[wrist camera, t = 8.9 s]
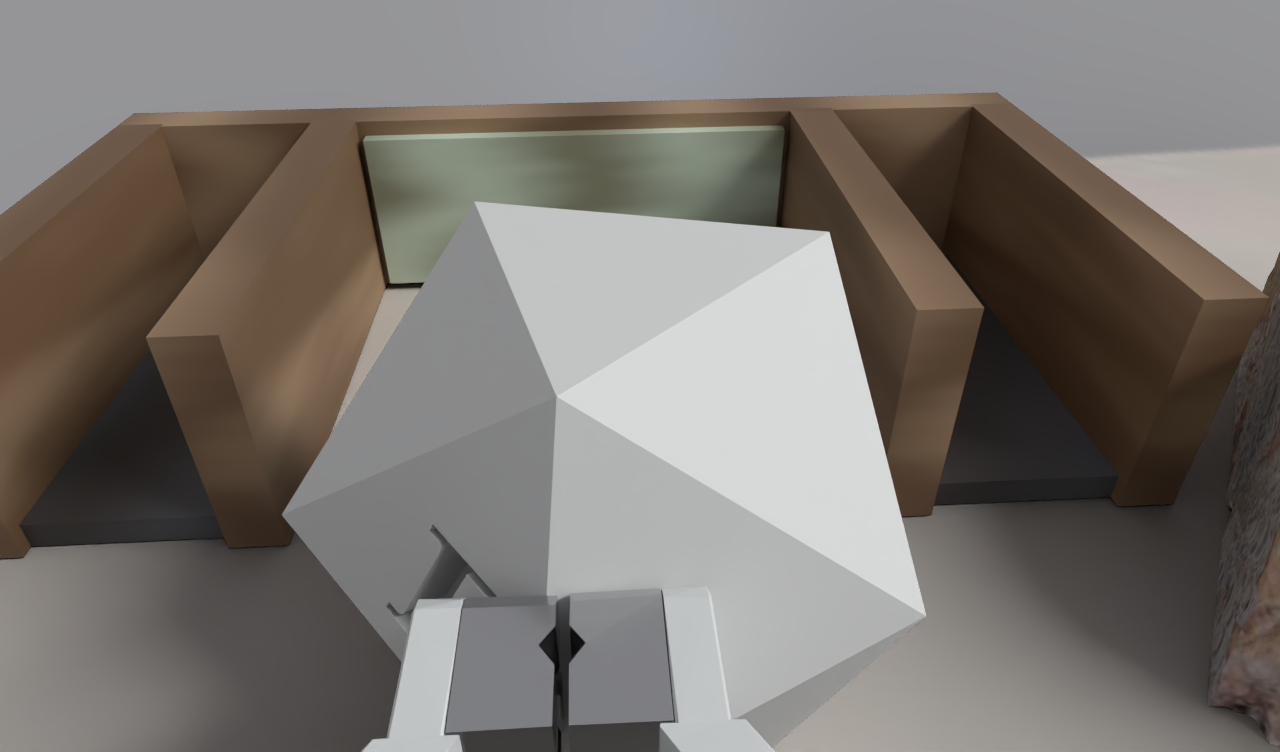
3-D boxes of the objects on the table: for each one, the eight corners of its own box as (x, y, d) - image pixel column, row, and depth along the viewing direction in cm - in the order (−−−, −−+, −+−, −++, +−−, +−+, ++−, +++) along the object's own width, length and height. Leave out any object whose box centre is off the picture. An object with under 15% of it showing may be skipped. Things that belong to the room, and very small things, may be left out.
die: (379, 545, 18) (11, 426, 9) (666, 270, 19) (586, -75, 10) (651, 863, 16) (508, 1131, 7) (960, 524, 17) (1195, 360, 8)
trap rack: (-39, 560, 17) (-177, 348, 14) (188, 271, 27) (134, 113, 24) (1172, 504, 18) (1269, 297, 15) (962, 246, 28) (997, 92, 25)
